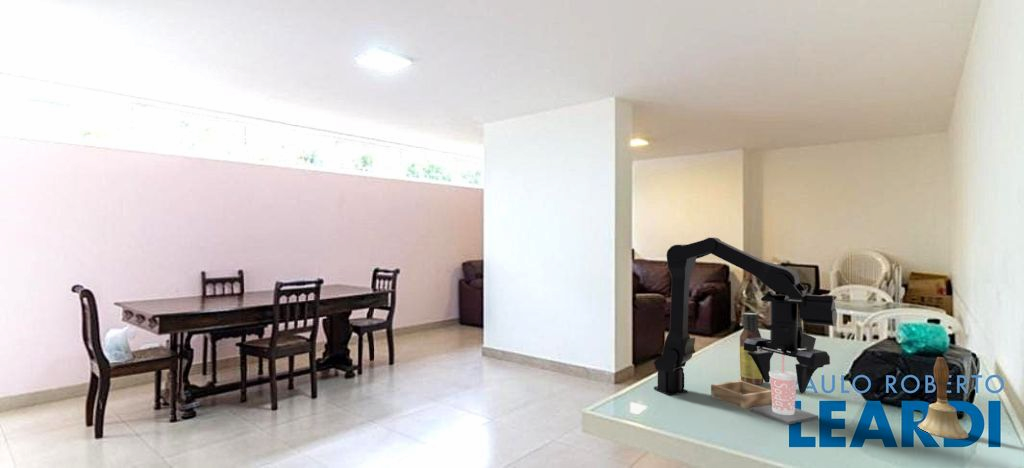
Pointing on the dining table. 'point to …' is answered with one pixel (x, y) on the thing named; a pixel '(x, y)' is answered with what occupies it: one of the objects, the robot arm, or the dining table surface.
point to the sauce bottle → (747, 364)
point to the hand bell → (942, 408)
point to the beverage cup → (783, 390)
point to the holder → (733, 395)
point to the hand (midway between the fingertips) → (784, 387)
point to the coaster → (787, 419)
